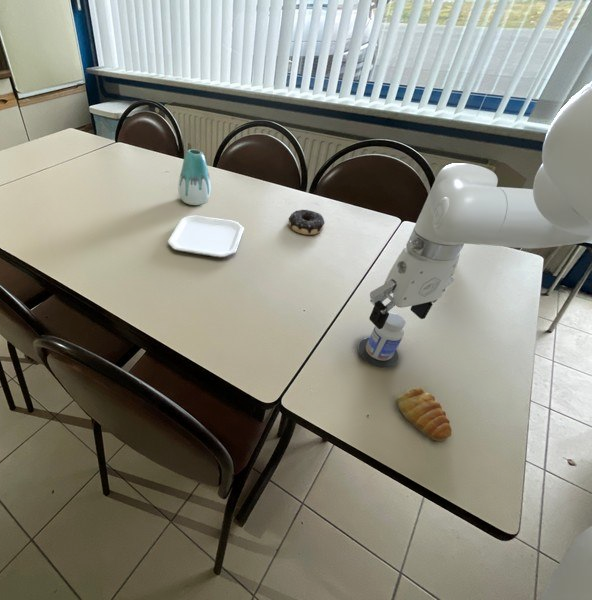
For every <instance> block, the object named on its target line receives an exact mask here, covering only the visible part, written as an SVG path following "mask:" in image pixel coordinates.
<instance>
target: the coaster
mask: <svg viewBox="0 0 592 600" xmlns="http://www.w3.org/2000/svg"><path fill="white" fill-rule="evenodd" d="M369 338H370V337H365V338H363V339H362V340H360V341H359V343H358V346H357V352H358V355H359V356H360V357H361V359H363V360H364V361H365V362H366V363H368V364H369V365H372V366H373V367H377V368H381V369H382V368H383V369H386V368H391V367H394V366H395V365H397V363H398V360H399V353H398V351H397V350H396V351H395V352H394V354H393V356H392V357H391V358H390V359H389V360H385V361H382V360H377V359H375V358H373V357H372V356H370V355H369V354H368V353H367V351H366V344H367V342H368V340H369Z"/></svg>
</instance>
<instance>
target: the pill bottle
mask: <svg viewBox="0 0 592 600" xmlns="http://www.w3.org/2000/svg"><path fill="white" fill-rule="evenodd" d="M388 313H389V316H388V318H387V320H386V322H385V324H384V326H383V328H382V329H378V328H377V327H376V326H375V325H374V327H373V329H372V331H371V333H370V335H369V337H368V338H369V340H368V342H367V344H366V351H367V353H368V354H369V355H370V356H372V357H373V358H375V359H377V360H382V361H385V360H389V359H390V358H391V357H392V356H393V354H394V352H395V351H397V349H398V347H399V345H400V343H401V342H402V340H403V337H404V335H405V325H406V320H405V318H404V317H403V316H402V315H401V314H398V313H395V312H388Z"/></svg>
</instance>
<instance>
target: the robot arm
mask: <svg viewBox="0 0 592 600" xmlns="http://www.w3.org/2000/svg"><path fill="white" fill-rule="evenodd" d="M541 161H542V164H540V166H539V168H538V170H537V172H536V174H535V176H534V180H533V185H532V188H523V187H522V188H519V187H505V186H498V182H499V179H498V176H497V174H496V173H495V172H494V171H492V170H491V169H489V168H487V167H485V166H484V167H483V166H481V165H476V164H472V163H462V162H461V163H451V164H448V165H445V166H444V167H442V168H441V169H440V170H439V172H438V173H437V176H436V177H435V180H434V182H433V184H432V186H431V189H430V191H429V193H428V194H427V197H426V200H425V202H424V204H423V206H422V209H421V211H420V213H419V215H418V218H417V220H416V222H415V224H414V227H413V229H412V232H410V233H411V234H410V236H409V238H408V240H407V242H406V245H405V247H404V248H403V249H402V251H401V252H400V254H399V255H398V256H397V258H396V260H395V262H394V263H393V265H392V267H391V269H390V270H389V272H388V274H387V277H386V278H385V281H384V283H383V284H382V285H381V286H379V287H376V288H375V289H374V290H372V291H370V293H369V297H370V300H369V301H370V303H371V304H372V305H373V308H372V311H371V312H370V315H369V317H368V318H369V319H368V320H369V321H370V322H371V323H372V324H373V325H374V327H375V326H376V327H377V328H378V329H382V328H383V326H384V324H385V322H386V320H387V318H388V316H389V313H390V312H389V311H390V310H392V309H393V308H394V307H397V308H408V307H410V311H411V312H412V313H413V314H414V315H415V316H416V317H418V318H419V319H420V320H424V319H426V317H427V315H428V313H429V312H430V310H431V308H432V307H433V305H434V303H437V301H438V300H440V299H441V298H442V296H444V293H445V292H446V290H447V288H448V287H449V286H450V285H451V284H452V283H453V282H454V281H455V279H454V278H453V275H454V274H455V271H456V268H457V266H458V263H459V260H460V255H461V253H460V252H461V251H462V250H463V247H464V245H465V244H467V245H477V246H481V245H482V246H492V247H493V246H494V247H506V248H518V249H544V248H545V249H546V248H552V247H553V248H554V247H562V246H570V245H577V244H578V245H579V244H583V243H588V242H591V241H592V81H590V82H589V83H588V84H585V85H584V87H583V88H581V89H580V90H578V92H577V93H575V94H574V95H573V96H572V97H571V98H570V99H569V100H568V101H567V103H566V104H564V106H563V107H562V108H561V109H560V110H559V112H558V113H557V115H556V116H555V117H554V119H553V121H552V122H551V124H550V126H549V128H548V130H547V132H546V134H545V138H544V141H543V144H542V152H541ZM391 294H392V295H391ZM386 299H388V300H389V302H388V303H387V304H386V305H385V304H384V303H383V302H384V301H385V300H386ZM539 600H592V525H590V526H589V527H587V528H586V529H584V530H583V531H582V532H581V533H580V534H577V536H576V537H575V538H574V539H573V541H572V542H571V544H570V545H569V547H568V548H567V549H566V551H565V553H564V555H563V556H562V558H561V559H560V561H559V564H558V565H557V567H556V569H555V571H554V572H553V574H552V576H551V578H550V580H549V582H548V584H547V586H546V588H545V589H544V591H543V593H542V595H541V597H540V599H539Z"/></svg>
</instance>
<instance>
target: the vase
mask: <svg viewBox="0 0 592 600" xmlns="http://www.w3.org/2000/svg"><path fill="white" fill-rule="evenodd" d="M211 183H212V182H211V177H210V173H209V169H208V165H207V160H206V157H205V155H204V152H202V151H201V150H199V149H196V148H191V149H190V148H189V149H188V150H187V152H186V153H185V155H184V157H183V161H182V166H181V170H180V174H179V178H178V184H177V193H178V196H179V198H180V200H181V201H182V202H183V203H185V204H187V205H189V206H200V205H202V204H204V203H205V202H207V201H208V199H209V198H210V195H211V192H212V184H211Z"/></svg>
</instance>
